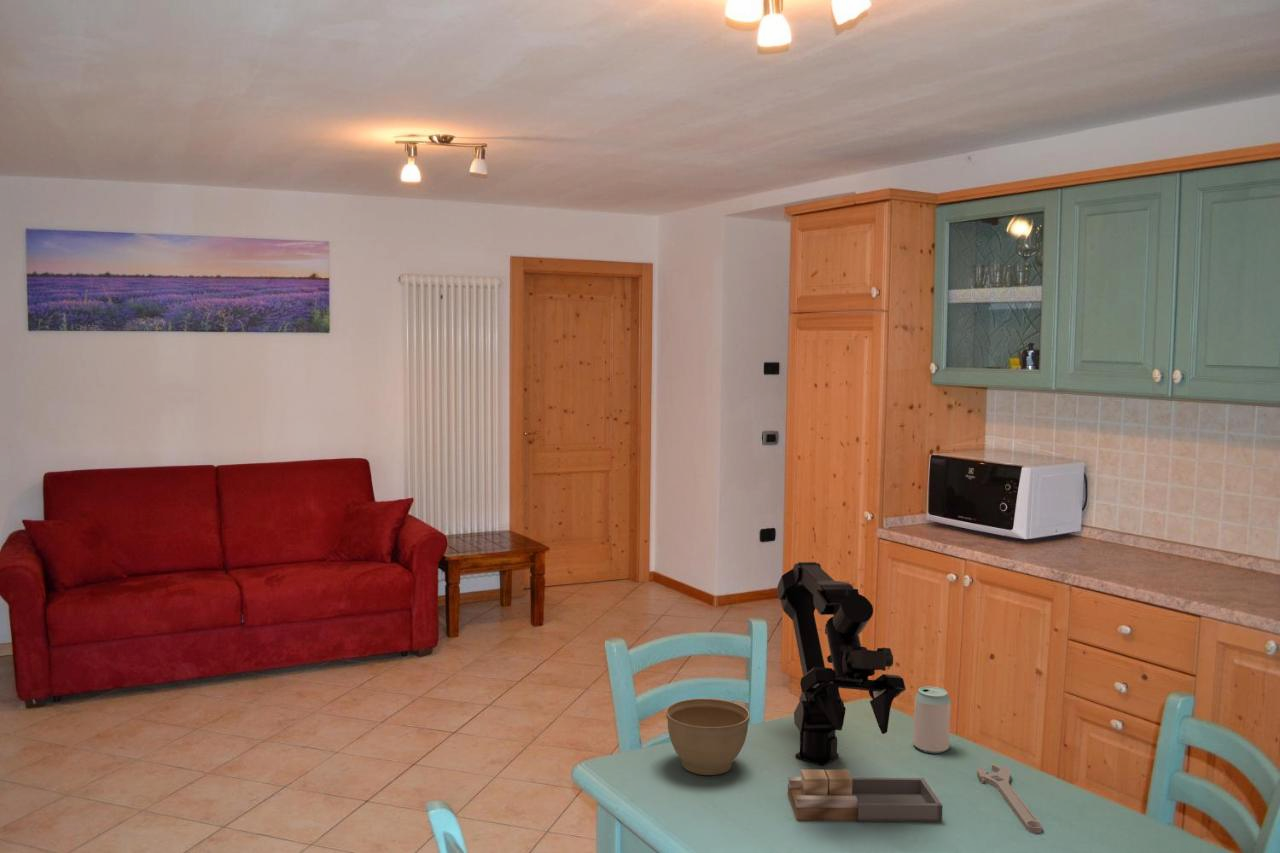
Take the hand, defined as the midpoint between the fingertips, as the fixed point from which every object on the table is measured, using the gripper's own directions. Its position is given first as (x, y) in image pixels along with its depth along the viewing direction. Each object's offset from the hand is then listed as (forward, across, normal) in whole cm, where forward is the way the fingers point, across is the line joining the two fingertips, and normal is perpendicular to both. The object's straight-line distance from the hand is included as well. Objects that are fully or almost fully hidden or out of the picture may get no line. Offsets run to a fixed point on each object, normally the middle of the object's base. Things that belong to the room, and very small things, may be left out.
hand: (862, 731), depth 172 cm
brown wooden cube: (+7, -3, +14) cm, 16 cm away
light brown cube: (+8, +1, +12) cm, 14 cm away
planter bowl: (-4, -14, +33) cm, 36 cm away
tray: (+10, +10, +10) cm, 17 cm away
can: (-7, +33, +23) cm, 40 cm away
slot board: (+9, -2, +14) cm, 17 cm away
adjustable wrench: (+9, +32, +4) cm, 33 cm away
